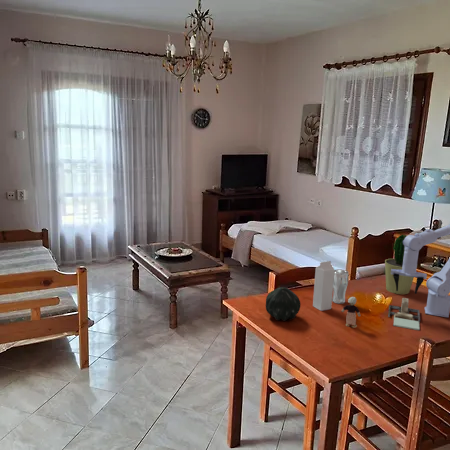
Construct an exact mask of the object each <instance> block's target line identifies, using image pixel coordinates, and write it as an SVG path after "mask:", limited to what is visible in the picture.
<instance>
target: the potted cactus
mask: <svg viewBox="0 0 450 450" xmlns="http://www.w3.org/2000/svg"><path fill="white" fill-rule="evenodd" d="M406 236H408V235H407V234H400V235H399V236H398V237H397V238H395V239H394V242H393V247H392V248H393V257H394V258H388V259H385V260H384V265H385V269H384V271H385V289H386V291H387V292H389V293H392V294H395V295H396V294H397V295H407V294H410V292H411V288H412V285H413V282H414V279H415V277H410V276H403V275H399V282H398V291H396V284H395V280H394V277H393V274H391V269H397V270H402V266H403V258H404V251H405V249H404V248H405V246H404V245H403V240H404V239H405V237H406Z"/></svg>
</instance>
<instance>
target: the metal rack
mask: <svg viewBox="0 0 450 450" xmlns="http://www.w3.org/2000/svg"><path fill="white" fill-rule="evenodd" d="M391 309H392V310H393V309H394V310H398V312H400V313H401V306H397V305H393V304H392V305H391V304H389V305H388V314H387V315H388V316H387V317H388V318H390V317H391V316H392V315H393V316H394V315H395V313H396V314H398V312H395V311H391ZM410 312H412V313H417V315H413V314H412V318H414V320H415V319H416V320H417V321H419V323H420V322H421V313H420V309H415V308H410V307H408V311H407V314H410Z"/></svg>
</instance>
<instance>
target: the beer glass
mask: <svg viewBox="0 0 450 450" xmlns="http://www.w3.org/2000/svg"><path fill="white" fill-rule="evenodd" d="M334 270H335V271H334V282H333V294H332V303H335V304H338V305H341V304H342V305H344V304H345V303H346V292H347V287H348V284H349V271H348V270H346V269H341V268H340V269H334Z"/></svg>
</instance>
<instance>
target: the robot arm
mask: <svg viewBox="0 0 450 450" xmlns="http://www.w3.org/2000/svg"><path fill="white" fill-rule="evenodd" d="M449 235H450V223H448V224H447V225H445V226H443V227H440V228H437V229H435V230H433V229H429V228H426V229H424V231H422V232H417V233H414V235H413V234H408V235H407V236H406V237H405V239H404V240H403V245H404V246H405V248H404V249H405V251H404V258H403V266H402V270H397V269H391V274H393V277H394V280H395V284H396V291H398V282H399V275H403V276H410V277H414V278H416V283H415V288H414V294H415V295H417V293H418V290H419V288H420V286H421V285H422V284H423V282H424V280H426V283H425V284H426V288H427V290H428V291H427V292H428V293H427V300H426V306H424V314H426V315H430V316H436V317H444V318H449V315H450V257H449V258H448V260H447V261H446V263H445V264H444V265H443V267H442V268H441V270H440V271H438V272H435V273H433V275H431V277H429V278H428V279H427V276H428V275H427V273H423V272H418V271H417V268H418V259H419V252H420V250H421V249H422V248H423V247H424V246H427V245H429V244H430V245H431V244H432V243H435V242H437V240H438V238H443V237H445V236H449Z"/></svg>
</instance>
